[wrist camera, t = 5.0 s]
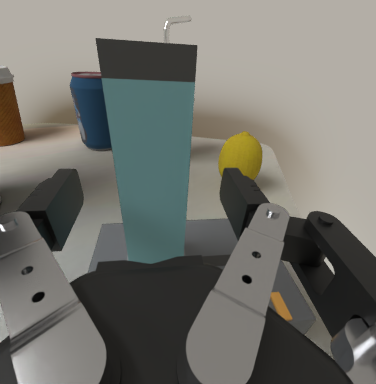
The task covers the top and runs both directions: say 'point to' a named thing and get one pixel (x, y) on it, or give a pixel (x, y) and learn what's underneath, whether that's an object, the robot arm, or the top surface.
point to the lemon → (241, 155)
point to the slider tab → (150, 140)
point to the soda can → (91, 109)
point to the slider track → (214, 262)
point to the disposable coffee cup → (9, 111)
